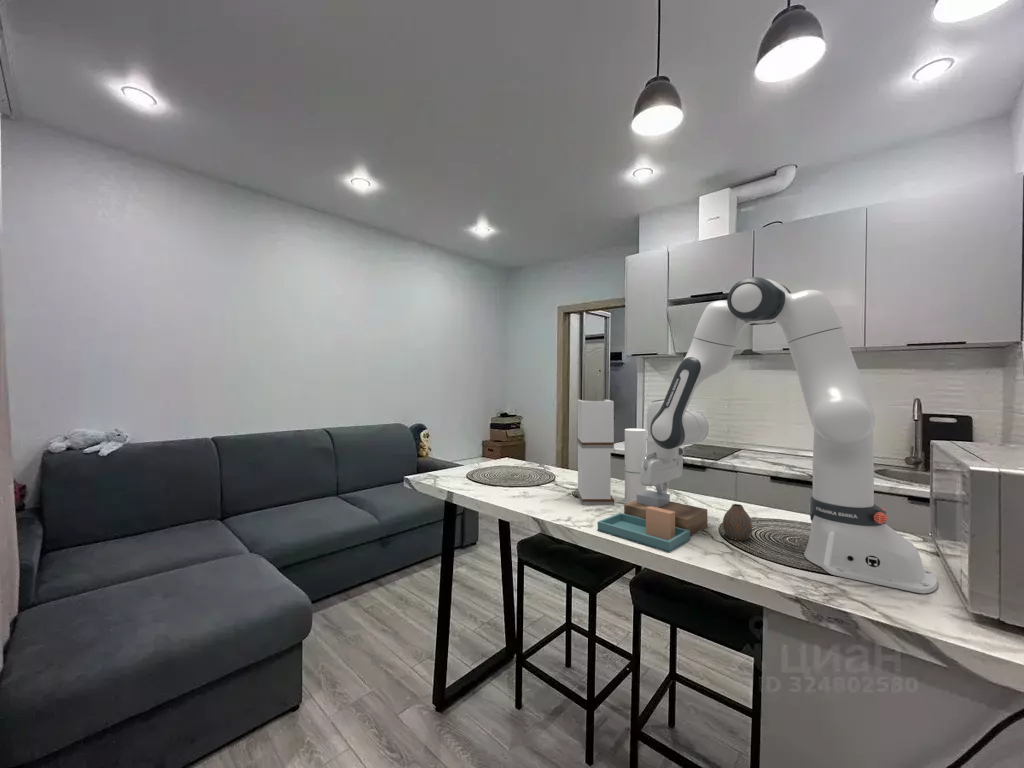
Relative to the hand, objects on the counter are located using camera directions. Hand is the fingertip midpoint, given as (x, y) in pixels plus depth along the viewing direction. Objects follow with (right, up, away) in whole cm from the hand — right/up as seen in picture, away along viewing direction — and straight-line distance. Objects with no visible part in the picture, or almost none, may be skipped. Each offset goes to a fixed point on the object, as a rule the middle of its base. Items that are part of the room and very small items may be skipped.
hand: (661, 495), depth 131 cm
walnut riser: (-2, -6, -8) cm, 10 cm away
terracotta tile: (-6, -2, -18) cm, 19 cm away
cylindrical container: (-4, -6, +14) cm, 16 cm away
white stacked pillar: (-17, -6, +17) cm, 25 cm away
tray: (-11, -6, -17) cm, 21 cm away
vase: (+13, -6, -19) cm, 24 cm away
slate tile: (-4, -1, -4) cm, 6 cm away
